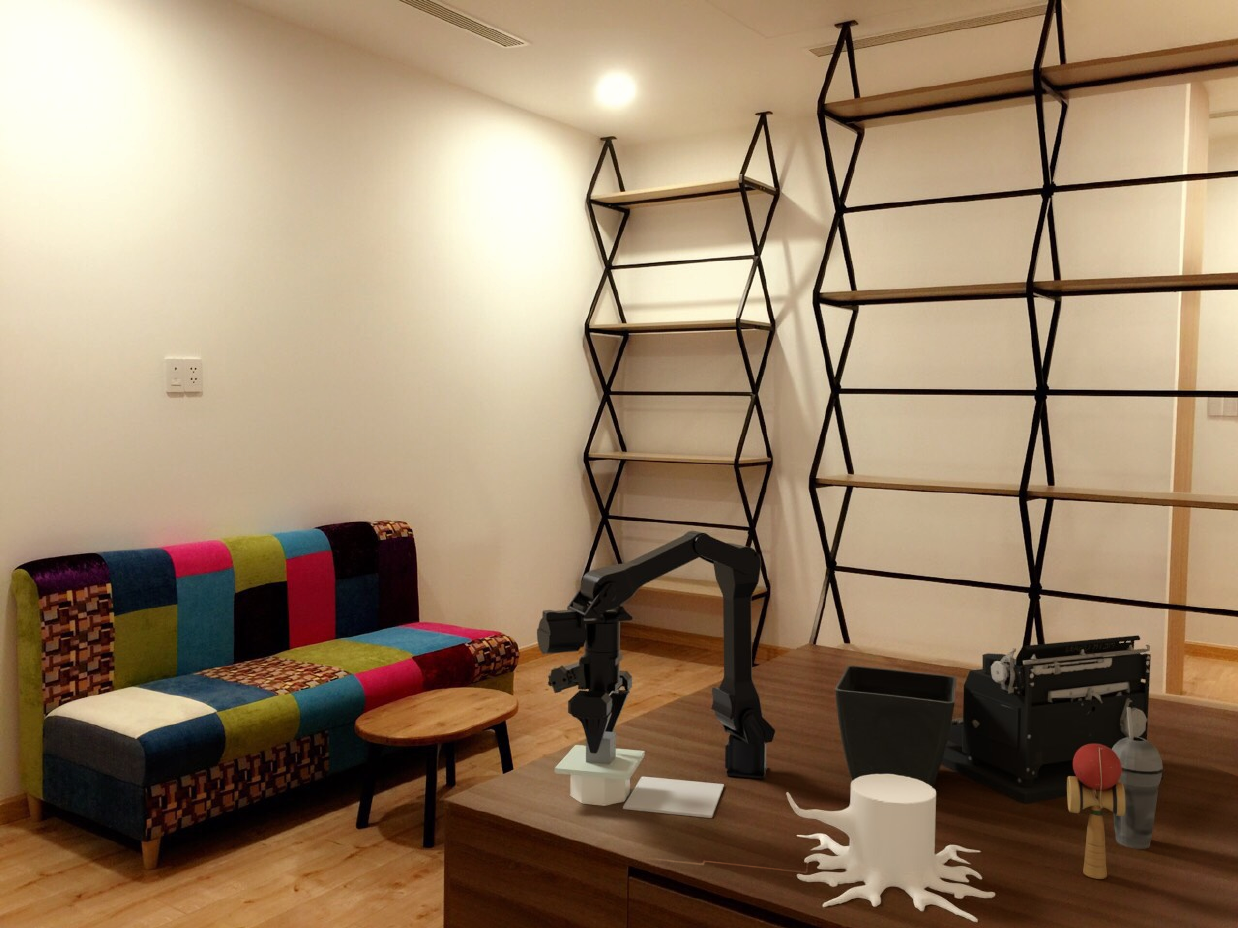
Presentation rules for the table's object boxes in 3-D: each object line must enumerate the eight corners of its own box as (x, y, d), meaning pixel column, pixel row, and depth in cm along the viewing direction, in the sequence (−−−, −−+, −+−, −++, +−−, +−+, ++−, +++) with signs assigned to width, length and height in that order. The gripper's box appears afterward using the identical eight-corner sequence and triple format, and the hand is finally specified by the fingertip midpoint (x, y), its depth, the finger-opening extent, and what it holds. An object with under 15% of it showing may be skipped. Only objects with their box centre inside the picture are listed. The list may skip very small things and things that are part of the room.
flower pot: (954, 767, 181) (956, 673, 180) (952, 805, 163) (954, 701, 162) (845, 754, 187) (847, 664, 186) (832, 789, 169) (834, 689, 168)
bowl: (633, 787, 169) (633, 757, 168) (620, 807, 160) (621, 776, 160) (580, 782, 171) (581, 752, 171) (565, 801, 162) (565, 770, 162)
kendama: (1056, 875, 138) (1060, 743, 137) (1068, 859, 143) (1072, 733, 142) (1118, 891, 133) (1123, 756, 132) (1128, 875, 138) (1133, 744, 137)
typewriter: (1041, 736, 200) (1045, 610, 199) (1162, 782, 175) (1167, 638, 174) (913, 754, 188) (917, 620, 187) (1024, 806, 163) (1029, 652, 162)
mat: (723, 786, 170) (723, 784, 170) (711, 817, 156) (711, 815, 156) (641, 778, 173) (641, 776, 173) (623, 808, 159) (623, 806, 159)
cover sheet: (644, 755, 170) (644, 727, 169) (628, 779, 158) (629, 749, 158) (575, 749, 172) (575, 721, 172) (554, 772, 161) (554, 742, 161)
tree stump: (782, 903, 129) (783, 815, 129) (787, 819, 157) (788, 746, 156) (1011, 926, 124) (1013, 834, 124) (975, 835, 152) (977, 760, 151)
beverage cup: (1168, 855, 144) (1172, 716, 144) (1112, 850, 146) (1117, 712, 145) (1151, 835, 152) (1156, 702, 151) (1099, 830, 153) (1103, 699, 152)
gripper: (570, 634, 175) (569, 723, 176) (536, 658, 157) (535, 758, 158) (633, 638, 173) (632, 728, 173) (606, 663, 155) (605, 764, 155)
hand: (601, 744), depth 165 cm, fingers open, 9 cm apart
